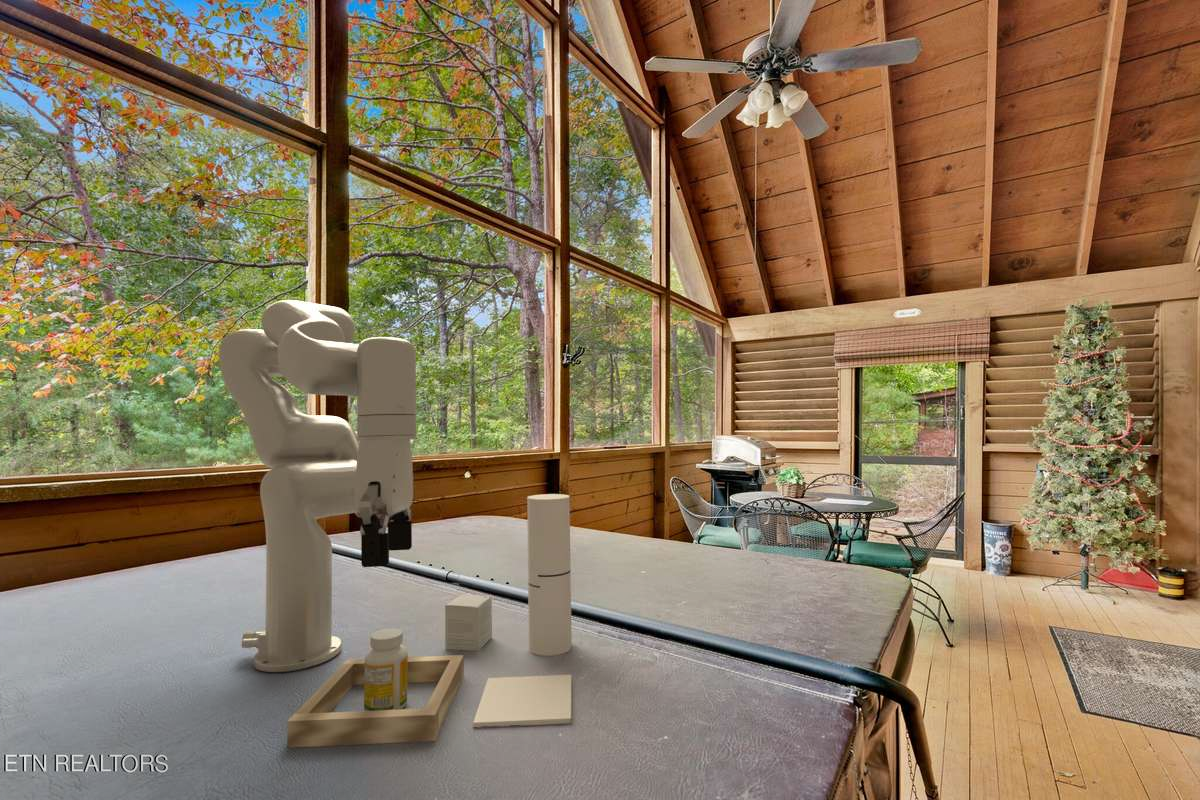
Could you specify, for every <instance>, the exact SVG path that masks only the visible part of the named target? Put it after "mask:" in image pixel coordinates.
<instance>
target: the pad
mask: <svg viewBox="0 0 1200 800" xmlns="http://www.w3.org/2000/svg"><path fill="white" fill-rule="evenodd" d="M560 724H561V725H562V724H565V725H566V724H572V674H557V675H556V674H555V675H554V674H552V675H533V676H532V675H531V676H527V675H526V676H508V677H507V676H506V677H505V676H504V677H488V678H487V680H486V683H485V687H484V689H483V693H482V696H481V698H480V702H479V705H478V708H477V711H476V714H475V717H474V720H473V722H472V725H473V726H472V728H473V727H477V728H479V727H478V726H499V727H503V726H502V725H521V726H536V725H537V726H538V725H539V726H540V725H560Z"/></svg>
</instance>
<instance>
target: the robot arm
mask: <svg viewBox="0 0 1200 800" xmlns="http://www.w3.org/2000/svg"><path fill="white" fill-rule="evenodd" d="M260 321H261V327H262V329H256V328H255V329H253V328H251V329H250V328H249V329H247V328H246V329H239V330H235V331H232V332H230V333H228V334H227V335H225V336H224V337H223V339H221V342H220V345H219V349H218V350H219V351H218V362H219V369H220V374H221V377H222V380H223V383H224V385H225V387H226V389H227V390H228V393H230V396H231V397H232V398H233V400H234V401H235V402H236V404H237V405H238V407H239V408H240V410H241V411H242V413H243V415H244V419H245V422H246V425H247V428H248V431H249V434H250V437H251V440H252V443H253V446H254V449H255V452H256V455H257V456H258V458H259V460H260V462H261V463H262V464H263V466H266V467H267V468H270V469H269V470H268V471H267V472H266V473H265V474H264V476H263V477H262V479H261V482H260V486H259V489H260V492H259V495H260V502H261V507H262V513H263V518H264V519H263V520H264V525H265V542H266V548H265V549H266V550H265V551H266V552H265V553H266V556H265V558H266V559H265V562H266V563H265V564H266V566H265V567H266V568H265V570H266V571H265V574H266V575H265V628H264V630H263V631H258V630H248V631H247V630H246V631H244V633H243V635H242V638H241V640H242V641H241V648H242V649H250V648H256V649H257V652H256V653H255V655H254V657H253V667H254V668H255V669H256V670H258V671H260V672H261V671H262V672H266V673H284V672H286V673H287V672H294V671H298V670H303V669H308V668H311V667H314V666H317V665H320V664H323V663H325V662H327V661H330V660H331V659H333V658H334V657H336V656H337V655H338V654H340V652H341V651H342V648H343V647H342V645H343V644H342V640H341V639H340V638H339V637H337V636H335V635H332V633H333V632H332V619H333V617H332V616H333V614H332V613H333V612H332V611H333V610H332V607H333V606H332V605H333V603H332V602H333V601H332V600H333V599H332V598H333V595H332V594H333V591H332V590H333V545H332V542H331V539H330V537H329V536H328V534H327V533H326V531H324V529H323V528H322V527H321V526H320V525H319V523H318V521H317V520H318V519H322V518H326V517H333V516H335V517H336V516H341V515H347V514H355V515H356V516H357V517H358V518H359V520H358V521H359V523H360V525H361V526H360V530H359V533H360V537H361V538H360V540H361V547H360V548H361V550H360V551H361V554H360V555H361V557H360V558H361V567H363V568H374V567H387V566H388V565H389V564H390V551H409V550H411V549H412V546H413V545H412V544H413V543H412V541H413V539H412V537H413V536H412V532H413V531H412V530H413V529H412V528H413V526H412V525H413V524H412V522H413V521H412V519H413V518H412V517H413V514H412V511H411V507H412V504H413V500H414V471H413V470H414V469H413V467H414V466H413V451H412V441H411V440H417V438H418V437H417V435H418V434H417V431H418V430H417V427H418V426H417V371H416V370H417V365H416V364H417V357H416V356H417V354H416V348H415V345H413V343H412V342H411V341H409V340H407V339H404V338H399V337H392V336H391V337H388V336H384V337H383V336H381V337H368V338H365V339H363V340H361V341H360V342H359V343H358V344H357V343H354V341H355V340H354V339H355V337H356V336H355V334H356V329H355V323H354V321H353V318H352V317H351V315H350V314H349V312H347V311H346V310H345V309H343V308H341V307H337V306H331V305H326V304H325V305H324V304H320V303H314V302H307V301H302V300H294V299H284V300H279V301H275V302H274V303H271V304H270V305H268V306H267V307H266V308H265V309H264V311H263V312H262V316H261V320H260ZM272 377H279V378H280V377H281V378H284V379H285V380H286V381H287V382H288V383H289V384H291V385H292V386H293V387H294V388H296V389H297V390H299V391H301V392H303V393H307V394H311V395H316V396H343V397H344V396H346V397H347V396H348V397H350V396H351V397H356V398H357V399H356V401H357V402H356V404H357V405H356V412H357V419H356V421H357V425H356V426H357V427H356V431H357V433H356V432H355V430H354V428H353V427H352V425H351V423H349V422H348V421H347V420H345V419H343V418H341V417H339V416H334V415H312V414H311V415H310V414H309V415H308V414H306V413H303V412H301V411H302V410H300V408H299V405H298V403H297V401H296V398H295V397H294V395H293V394H292V393H291V392H290V391H289V390H288V388H286V387H285V386H284V385H282V384H281V383H279V382H277V381H276V379H275V380H274V379H273V378H272ZM379 519H380V520H379ZM389 519H390V521H389ZM386 531H387V532H386Z"/></svg>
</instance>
